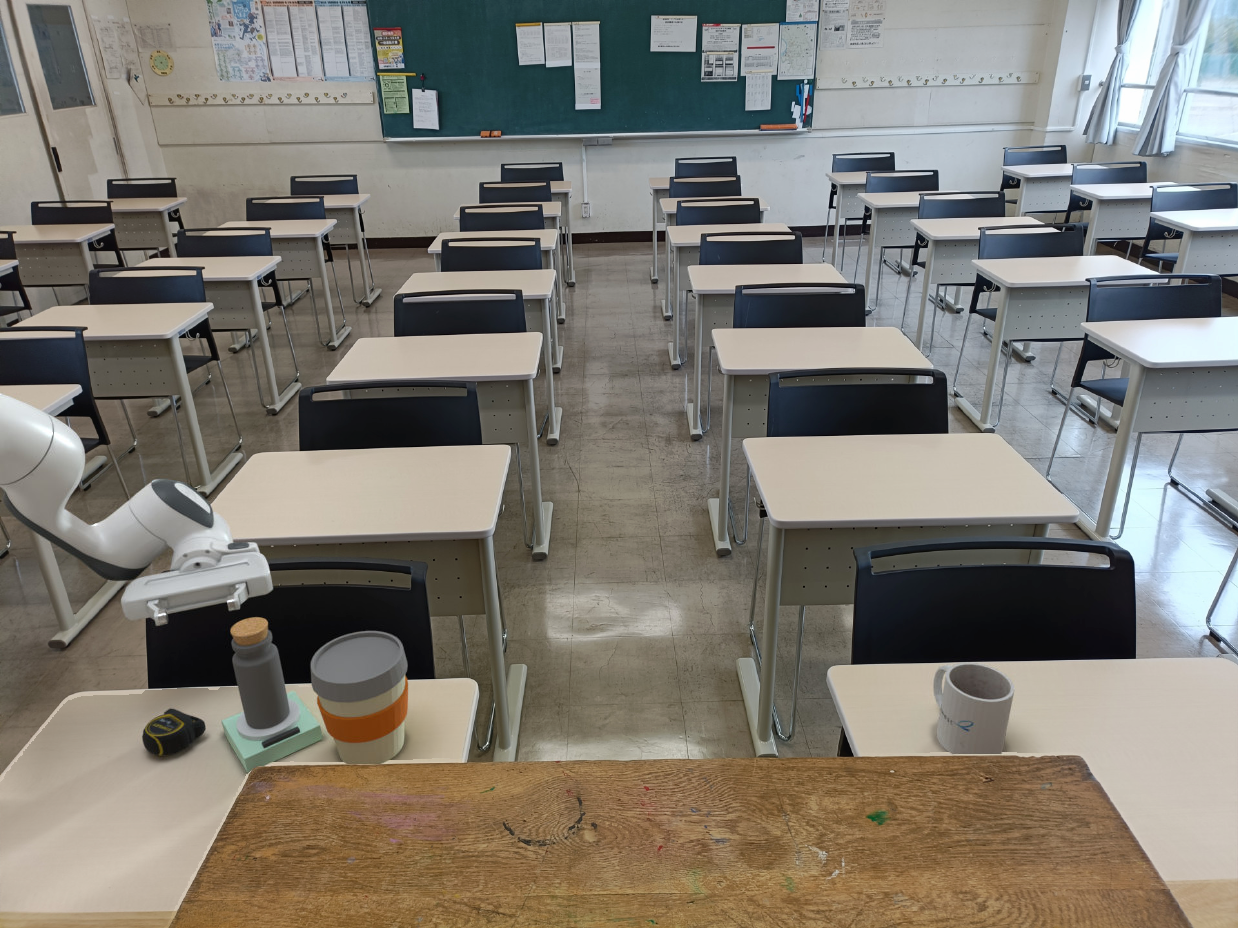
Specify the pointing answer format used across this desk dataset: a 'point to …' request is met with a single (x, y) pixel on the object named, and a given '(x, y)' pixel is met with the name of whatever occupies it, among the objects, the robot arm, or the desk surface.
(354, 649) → the reusable coffee cup
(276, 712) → the bottle
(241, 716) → the scale
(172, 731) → the tape measure
